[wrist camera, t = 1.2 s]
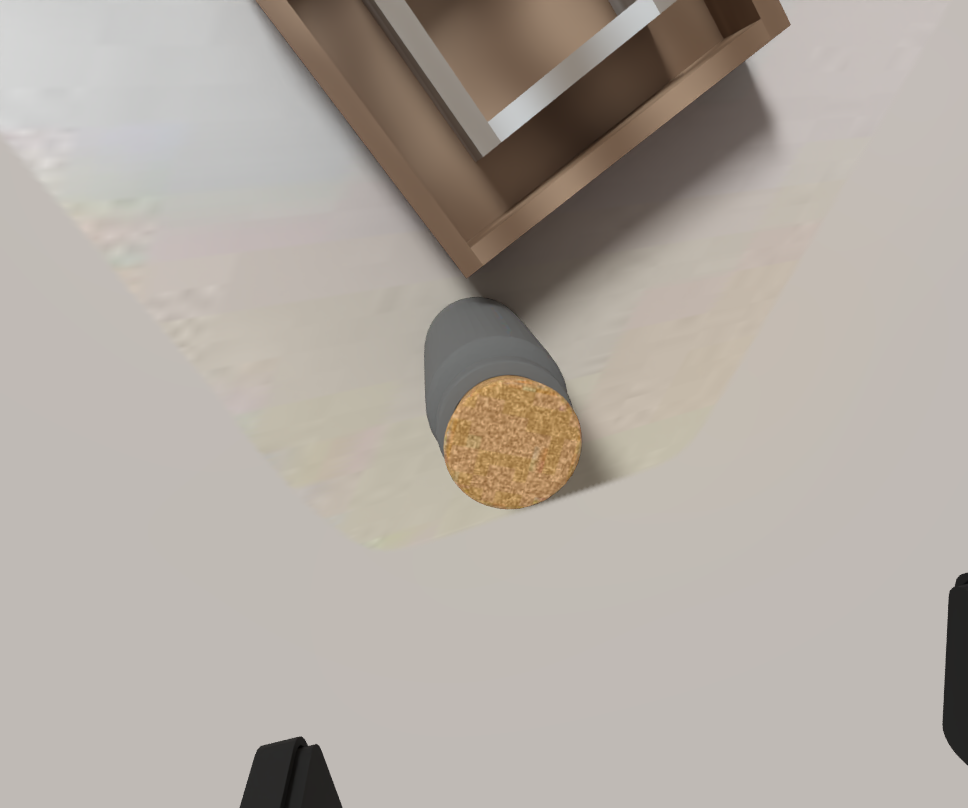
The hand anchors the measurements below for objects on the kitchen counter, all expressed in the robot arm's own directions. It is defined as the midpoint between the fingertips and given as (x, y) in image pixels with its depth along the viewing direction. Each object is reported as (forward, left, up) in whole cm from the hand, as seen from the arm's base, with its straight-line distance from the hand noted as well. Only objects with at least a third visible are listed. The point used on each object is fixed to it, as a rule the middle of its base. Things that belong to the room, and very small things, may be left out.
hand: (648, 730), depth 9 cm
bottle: (0, 0, -28) cm, 28 cm away
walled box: (-11, -13, -27) cm, 32 cm away
